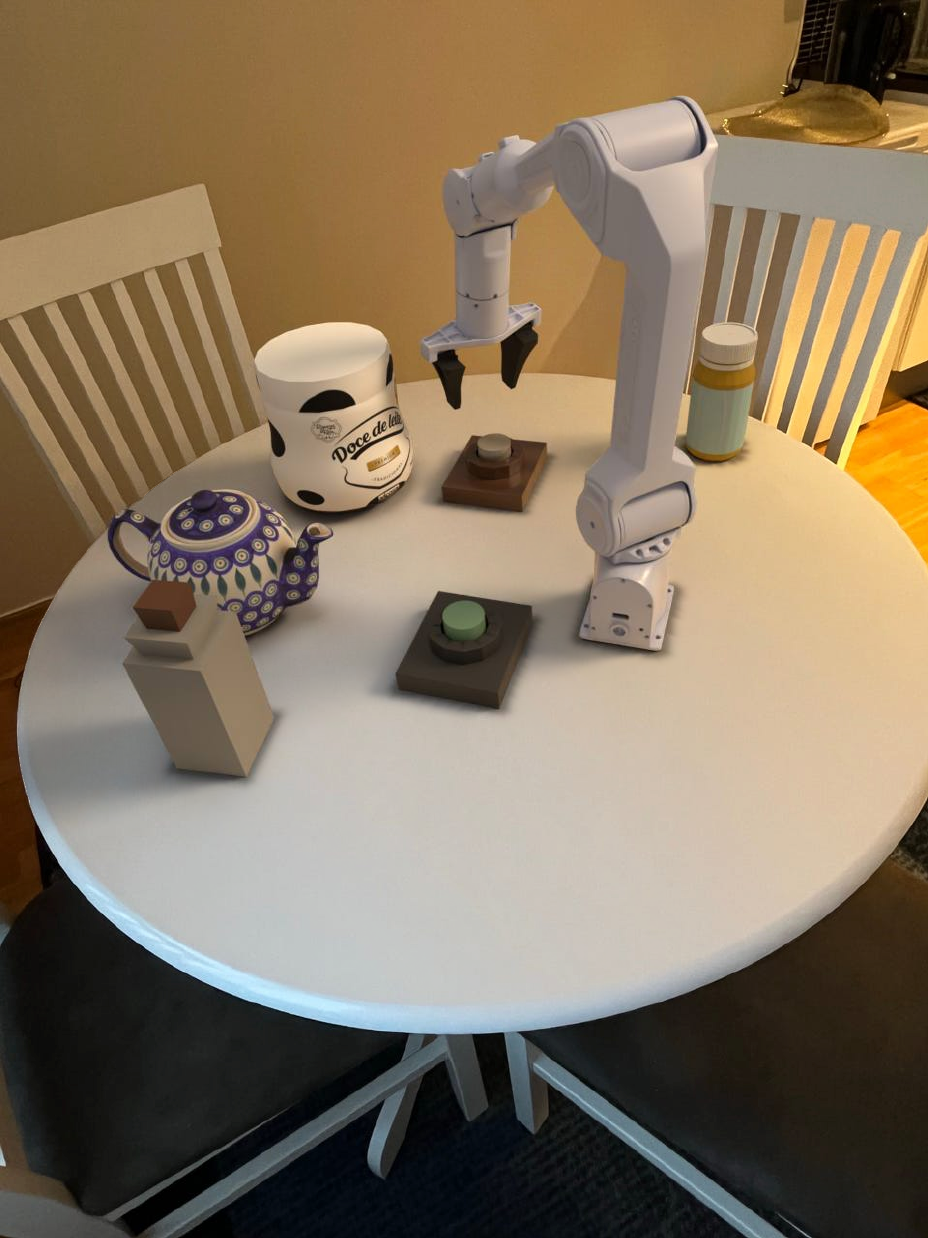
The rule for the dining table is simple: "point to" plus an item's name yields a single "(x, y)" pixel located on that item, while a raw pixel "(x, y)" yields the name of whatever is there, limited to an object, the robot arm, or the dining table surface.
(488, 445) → the grey button cap
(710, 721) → the dining table surface
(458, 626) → the green button cap
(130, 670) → the perfume bottle
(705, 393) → the bottle
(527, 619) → the push button front
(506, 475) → the push button back
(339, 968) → the dining table surface
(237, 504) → the teapot
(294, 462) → the doce de leite jar
